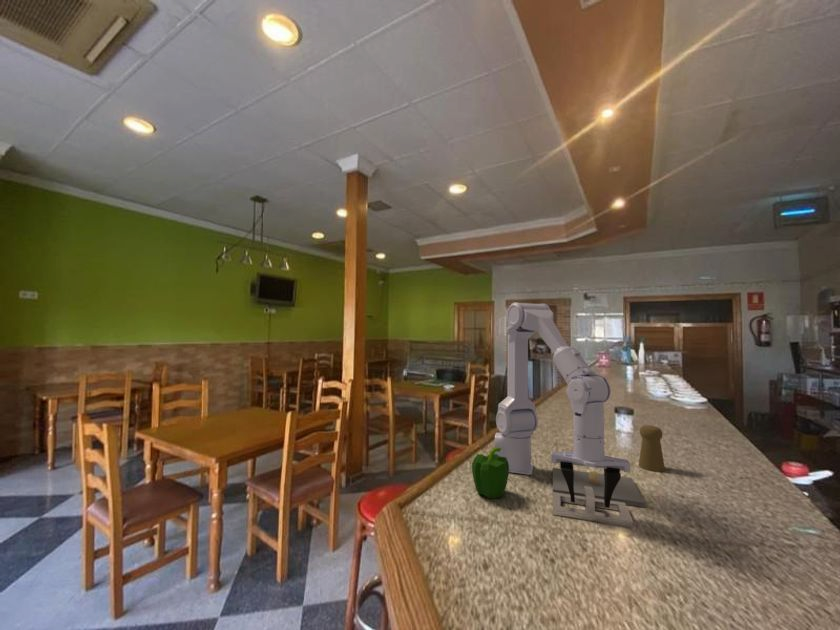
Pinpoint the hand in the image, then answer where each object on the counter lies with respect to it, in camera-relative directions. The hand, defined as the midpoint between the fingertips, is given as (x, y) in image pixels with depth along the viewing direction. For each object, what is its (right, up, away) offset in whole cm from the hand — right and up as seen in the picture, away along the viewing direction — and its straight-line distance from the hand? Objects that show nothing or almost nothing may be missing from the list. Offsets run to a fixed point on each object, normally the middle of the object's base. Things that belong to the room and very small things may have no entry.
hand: (589, 502), depth 75 cm
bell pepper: (-18, -2, +8) cm, 20 cm away
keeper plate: (+6, -2, +11) cm, 13 cm away
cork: (+28, -3, +25) cm, 38 cm away
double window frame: (0, -2, 0) cm, 2 cm away
